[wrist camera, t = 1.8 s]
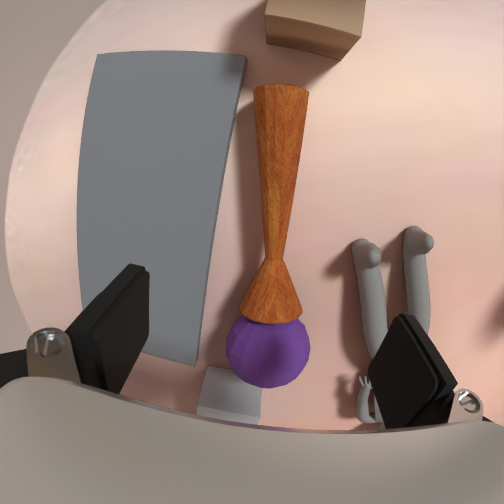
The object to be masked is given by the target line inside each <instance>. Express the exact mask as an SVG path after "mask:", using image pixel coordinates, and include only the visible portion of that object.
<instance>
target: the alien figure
mask: <svg viewBox="0 0 504 504" xmlns="http://www.w3.org/2000/svg"><path fill="white" fill-rule="evenodd" d="M433 245H434V240H433V238H432V237H431V236H430V235H429V234H427V233H426V232H424V231H422V229H421V228H419V227H417V226H410V227H409V228H408V229H407V230H406V231H405V234H404V239H403V260H404V275H405V286H406V296H407V307H408V314H409V315H414V316H415V317H416V319H417V320H418V322H419V323H420V325H421V326H422V328H423V329H424V331H425V332H426V334H428V330H429V324H430V294H429V284H428V274H427V265H426V256H425V254H426V253H428V252H429V251H430V250H431V249H432V248H433ZM352 255H353V260H354V265H355V270H356V275H357V280H358V286H359V294H360V302H361V314H362V324H363V332H364V337H365V342H366V345H367V349H368V352H369V354H370V356H371V358H372V360H373V358H374V356H375V355H376V353H377V351H378V349H379V347H380V345H381V343H382V341H383V339H384V338H385V336H386V334H387V332H388V329H387V315H386V301H385V293H384V286H383V281H382V276H381V272H380V268H379V263H380V262H381V257H382V255H381V252H380V249H379V248H378V247H377V246H376V245H375V244H373V243H370V242H369V241H367V240H366V239H358V240H356V241H355V242H354V243H353V245H352ZM358 378H359V381H360V383H361V385H362V388H361V389H360V391H359V393H358V402H357V408H356V415H357V418H358V419H359V421H361V422H363V423H368V424H370V423H378V422H380V424H379V426H378V428H377V430H380V429H385V425H384V422H383V419H382V416H381V413H380V410H379V407H378V403H377V400H376V397H375V394H374V409H375V412H369V406H368V396H369V393H370V390H371V389H372V386H371V383H370V380H369V383H368V382H367V377H366V376H364V382H365V384H364V383H363V381H362V379H361V377H360V376H359V377H358Z"/></svg>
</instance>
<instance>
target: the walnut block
mask: <svg viewBox="0 0 504 504" xmlns="http://www.w3.org/2000/svg"><path fill="white" fill-rule="evenodd" d="M365 3H366V0H268V2H267V6H266V10H265V14H264V15H265V28H266V43H267V44H270V45H276V46H281V47H286V48H291V49H296V50H301V51H305V52H310V53H314V54H318V55H322V56H326V57H329V58H333V59H337V60H340V61H341V60H342V59H343V58H344V56H345V55H346V54H347V53H348V52H349V50H350V49H351V48H352V47H353V46H354V45H355V43H356V42H357V41H358V40H359V39H360V38H361V35H362V28H363V20H364V12H365Z"/></svg>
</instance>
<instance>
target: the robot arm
mask: <svg viewBox="0 0 504 504" xmlns="http://www.w3.org/2000/svg"><path fill="white" fill-rule="evenodd" d="M149 284H150V274H149V272H148V271H146V269H145V267H144V266H140V265H135V264H131V263H130V264H128V265H127V266H126V267H125V268H124V269H123V270H122V271H121V272H120V273H119V274H118V275H117V276H116V277H115V278H114V280H113V281H112V282H111V283H110V284H109V285H108V286H107V287H106V288H105V289H104V290H103V291H102V292H101V293H99V294H98V295H97V296H96V297H95V298H94V299H93V300H92V301H91V303H90V304H89V305H88V306H87V307H86V308H85V309H84V310H83V311H82V312H81V314H80V315H79V316H78V317H77V318H76V319H75V320H74V321H73V322H72V324H71V325H70V326H69V327H68V328H67V329H66V330H65V332H64V331H62V330H60V329H58V328H43V329H40V330H38V331H36V332H34V333H33V334H32V335H31V336H30V337H29V339H28V341H27V346H26V349H24V350H19V351H13V352H8V353H4V354H0V504H504V427H503V426H501V425H499V424H496V423H494V422H492V421H491V420H489V419H487V418H486V417H484V416H483V404H482V401H481V400H480V398H479V397H478V396H477V395H476V394H475V393H474V392H472V391H470V390H468V389H459V390H457V391H456V392H455V394H454V392H453V389H454V388H455V387H456V385H457V384H458V383H457V381H456V379H455V378H454V376H453V374H452V373H451V371H450V369H449V368H448V366H447V364H446V363H445V361H444V360H443V358H442V357H441V355H440V353H439V352H438V350H437V349H436V347H435V346H434V344H433V343H432V341H431V340H430V338H429V337H428V335H427V334H426V332H425V331H424V329H423V328H422V326H421V325H420V323H419V322H418V320H417V319H416V317H415V316H414V315H409V314H402V313H401V314H399V315H398V317H395V318H394V320H393V321H392V324H391V326H390V328H389V330H388V332H387V334H386V336H385V338H384V339H383V341H382V343H381V345H380V347H379V349H378V351H377V353H376V355H375V356H374V358H373V360H372V362H371V364H370V365H369V367H368V377H369V380H370V383H371V386H372V388H373V391H374V394H375V397H376V400H377V403H378V407H379V410H380V413H381V416H382V419H383V422H384V425H385V429H380V430H311V429H294V428H282V427H272V426H263V425H255V424H247V423H240V422H233V421H227V420H221V419H216V418H210V417H205V416H200V415H195V414H191V413H186V412H182V411H178V410H174V409H170V408H165V407H161V406H157V405H154V404H150V403H146V402H143V401H139V400H136V399H132V398H129V397H126V396H122V395H119V393H120V391H121V389H122V387H123V385H124V383H125V381H126V379H127V378H128V376H129V374H130V372H131V370H132V368H133V366H134V364H135V362H136V360H137V358H138V356H139V354H140V352H141V350H142V349H143V347H144V345H145V343H146V341H147V339H148V336H149Z"/></svg>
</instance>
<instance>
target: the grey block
mask: <svg viewBox="0 0 504 504" xmlns="http://www.w3.org/2000/svg"><path fill="white" fill-rule="evenodd" d="M261 394H262V388H260V387H257V386H254V385H251V384H248V383H245V382H244V381H243V380H241V379H240V378H239V377H238V376H236V374H235V372H234V371H233V370H229V369H224V368H220V367H215V366H210V365H208V367H207V371H206V375H205V378H204V382H203V385H202V389H201V393H200V396H199V400H198V404H197V411H196V415H200V416H205V417H210V418H216V419H221V420H227V421H233V422H240V423H247V424H255V425H257V424H258V421H259V419H260V411H261Z"/></svg>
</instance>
